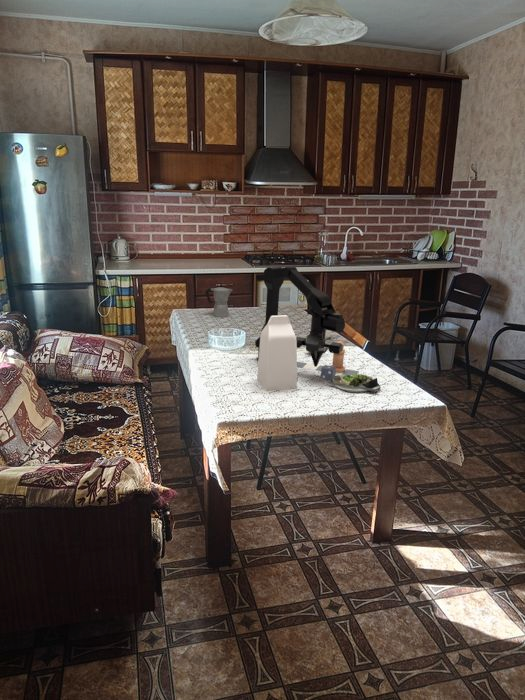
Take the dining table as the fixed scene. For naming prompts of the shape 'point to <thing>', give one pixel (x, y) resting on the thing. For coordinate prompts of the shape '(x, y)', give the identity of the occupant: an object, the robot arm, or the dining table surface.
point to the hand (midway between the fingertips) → (315, 366)
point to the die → (328, 372)
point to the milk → (277, 355)
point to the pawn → (339, 360)
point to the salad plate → (355, 383)
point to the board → (318, 368)
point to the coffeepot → (219, 300)
